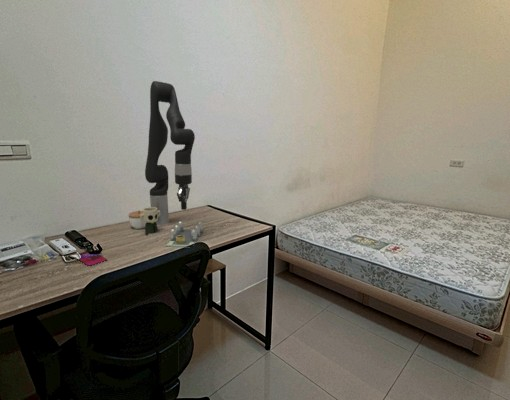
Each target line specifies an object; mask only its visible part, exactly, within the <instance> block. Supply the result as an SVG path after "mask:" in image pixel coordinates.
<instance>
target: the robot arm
mask: <svg viewBox="0 0 510 400" xmlns="http://www.w3.org/2000/svg"><path fill="white" fill-rule="evenodd" d="M149 94H150V95H149V98H150V99H149V100H150V101H149V102H150V103H149V104H150V107H149V108H150V111H149V113H150V114H149V116H150V117H149V126H148V127H149V128H148V146H147V156H146V161H145V169H144V176H145V180H146V182H148V183H149V184H155V185H154V186H153V187H151V189H149V203H150V207H155V208H157V210H158V211H160V217H158V220H157V221H156V223H157V226H163V225H167V224H170V217H169V200H168V190H169V170H168V168H167V166H166V165H163V164H158V163H159V158H160V156H161V154H162V152H163V151H164V149H165V148H166V146H167V144H168V137H169V131H170V141H171V142H172V143H173V144H174V145H175V146H177V145H178V146H180V145H181V146H182V145H183V146H184V147H183V148H181V149H177V150H175V153H174V163H175V164H174V183H175V184H176V185H178V189H177V191H178V192H176V196H177V199H178V202H180V208H181V210H182V211H186V209H187V207H188V206H187V202H188V200H189V196H190V190H191V188H190V187H189V185H190V184H192V182H193V181H192V180H193V177H192V175H193V171H192V170H193V169H192V151H193V147H194V143H195V139H196V137H195V136H196V135H195V132H194V130H192V129H190V128H186V123H185V120H184V117H183V115H182V112H181V110H180V106H179V102H178V97H177V93H176V89H175V87H174V86H173V84H171V83H168V82H163V81H157V80H153V81H152V82H151V85H150V91H149ZM160 102H161V103H166V104H167V103H168V104H169V106H168V108H167V111H166V114H165V115H166V116H165V117H166V121H167V123H168V125H169V129H170V130H168V126H167V123H166V122H165V120H164V118H163V115H162V113H161V111H160V106H159V105H160Z"/></svg>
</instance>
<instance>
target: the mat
mask: <svg viewBox="0 0 510 400" xmlns="http://www.w3.org/2000/svg"><path fill="white" fill-rule="evenodd" d="M183 229H184V232H182V233H180V235H185V243H184V244H176V241H171V240H170V241H169V242H168V243H167V244H166V245H165V247H168V248H186V247H185V246H188V245H191V244H193V243H196V242H192V241H191V230H192V229H186V228H183ZM204 231H205V230H204V229H203V232H204ZM202 234H203V233H200V236H201V235H202ZM199 238H200V237H197V240H199Z"/></svg>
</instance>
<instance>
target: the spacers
mask: <svg viewBox="0 0 510 400" xmlns="http://www.w3.org/2000/svg"><path fill="white" fill-rule="evenodd" d="M196 223H197V224H194V228H192V229H190V230H191V241H192V242H195V243H196V242H198V239H197V237H199V238H200V237H201V235H200V233H202V234H203V233H204V231H203V230H204V229H203V227H204V225H203V224H204V223H203V221H200V220H199V221H197V222H196ZM184 229H185V228H184V221H183V220H179V221H177V223H176V224H174V226H173V228H170V229H169V234H170V237H169V238H170V241H176V236H178V235H180V233H182V232H184Z"/></svg>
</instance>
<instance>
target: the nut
mask: <svg viewBox="0 0 510 400" xmlns="http://www.w3.org/2000/svg"><path fill="white" fill-rule="evenodd" d="M184 243H185V235H178V236H176V244H184Z"/></svg>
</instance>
